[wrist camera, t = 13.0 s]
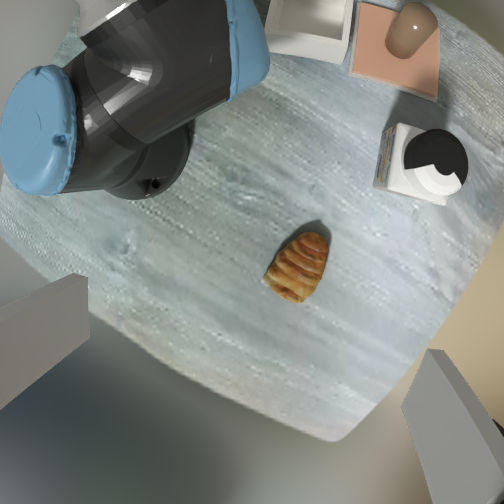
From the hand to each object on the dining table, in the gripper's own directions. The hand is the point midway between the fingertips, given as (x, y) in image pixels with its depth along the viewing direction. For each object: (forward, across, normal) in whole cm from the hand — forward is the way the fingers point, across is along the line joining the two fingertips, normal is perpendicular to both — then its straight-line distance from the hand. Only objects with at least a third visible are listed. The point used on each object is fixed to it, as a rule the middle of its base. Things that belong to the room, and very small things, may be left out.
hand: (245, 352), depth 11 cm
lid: (+31, -11, -28) cm, 44 cm away
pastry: (+32, -2, +5) cm, 33 cm away
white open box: (+32, +1, -28) cm, 43 cm away
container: (+32, -14, -11) cm, 37 cm away
